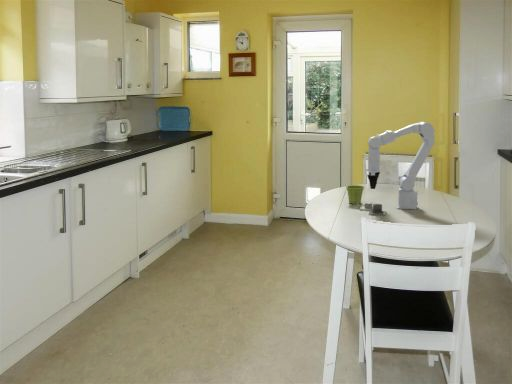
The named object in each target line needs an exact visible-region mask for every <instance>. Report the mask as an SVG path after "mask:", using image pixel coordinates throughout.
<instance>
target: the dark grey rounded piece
mask: <svg viewBox="0 0 512 384" xmlns="http://www.w3.org/2000/svg"><path fill="white" fill-rule="evenodd" d="M372 206H373V210H371V212H373V213H375V214H376V213H383V211H384V210H383V204H381V203H372Z"/></svg>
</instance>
